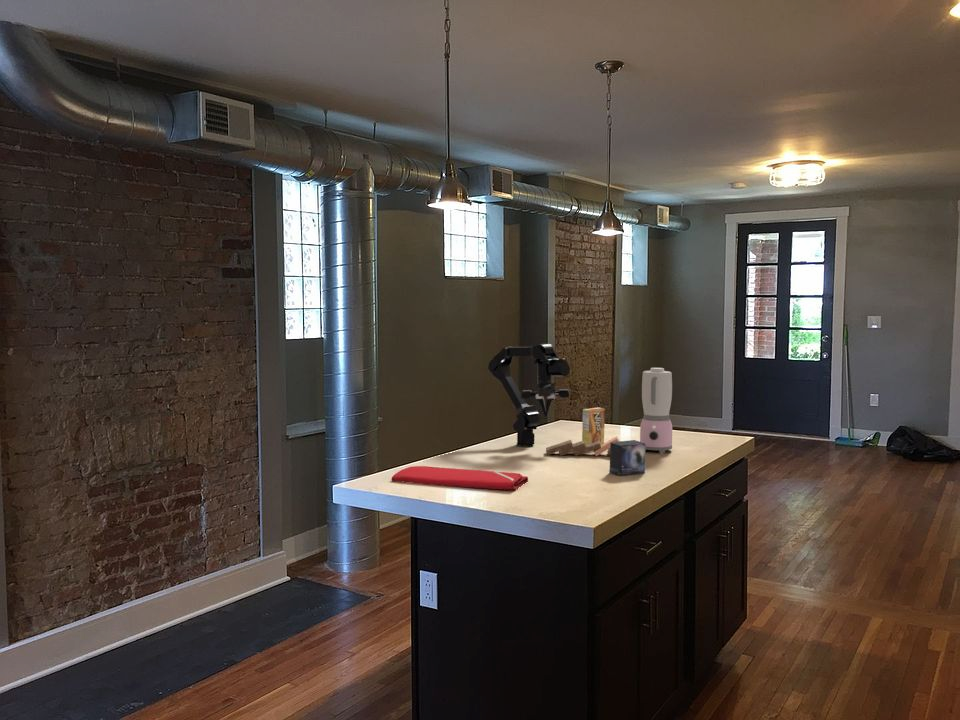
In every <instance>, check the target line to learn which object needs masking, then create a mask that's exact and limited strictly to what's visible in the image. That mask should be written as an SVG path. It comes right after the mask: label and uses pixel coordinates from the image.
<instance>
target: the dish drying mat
mask: <svg viewBox="0 0 960 720" xmlns="http://www.w3.org/2000/svg"><path fill="white" fill-rule="evenodd" d="M391 481H392V482H396V481H404V482H403V483H406V482H413V483H412V484H417V483H423V484H422V485H429V484H433V485H432V486H441V485H444V486H443V487H454V486H457V487H458V488H472V487H473V488H475V489H489V490H502V489H504V490H506V491H507V490H508V491H513V490H514V491H516V489H517V490H519V489H520V488H522V487H523V486H524V485H526V484H527V483H526V482H529V477H528V476H525V475H522V473H519V472H518V473H516V472H507V471H494V470H491V471H490V470H480V469H478V470H477V469H465V468H449V467H440V466H439V467H436V466H425V465H415V466H414V465H413V466H409V467H406V468H403V469H401V470H399V471H398V472H396V473H394V475H392V476H391ZM525 483H526V484H525ZM523 484H524V485H523ZM522 485H523V486H522ZM521 486H522V487H521ZM519 487H520V488H519ZM518 488H519V489H518Z"/></svg>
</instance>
